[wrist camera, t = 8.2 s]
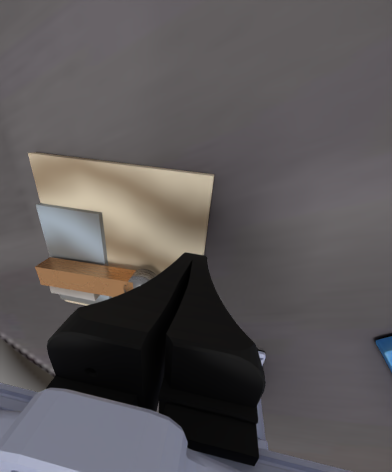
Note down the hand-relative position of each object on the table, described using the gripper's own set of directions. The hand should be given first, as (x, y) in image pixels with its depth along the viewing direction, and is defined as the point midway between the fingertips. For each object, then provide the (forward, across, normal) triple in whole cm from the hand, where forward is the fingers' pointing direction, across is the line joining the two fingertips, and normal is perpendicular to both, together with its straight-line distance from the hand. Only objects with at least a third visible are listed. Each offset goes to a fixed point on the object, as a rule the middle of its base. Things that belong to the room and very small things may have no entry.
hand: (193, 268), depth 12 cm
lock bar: (+7, +11, +8) cm, 16 cm away
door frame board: (+9, +9, +6) cm, 14 cm away
